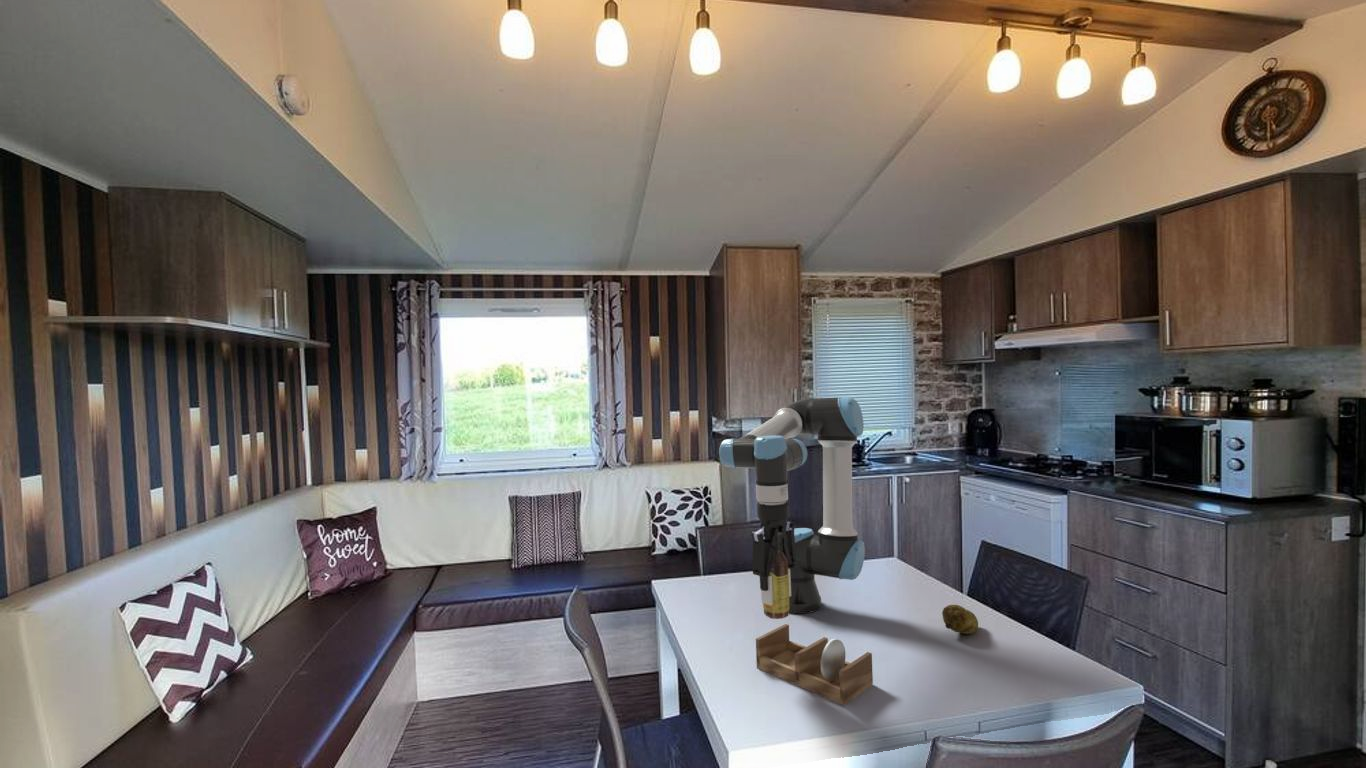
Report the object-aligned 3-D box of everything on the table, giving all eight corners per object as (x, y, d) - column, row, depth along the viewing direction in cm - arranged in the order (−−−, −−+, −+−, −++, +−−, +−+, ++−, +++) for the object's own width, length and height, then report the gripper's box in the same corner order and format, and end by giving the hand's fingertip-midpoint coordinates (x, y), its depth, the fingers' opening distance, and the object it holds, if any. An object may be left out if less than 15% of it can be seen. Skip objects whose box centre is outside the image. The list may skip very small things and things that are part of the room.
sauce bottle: (760, 610, 136) (757, 528, 136) (786, 608, 137) (782, 527, 137) (767, 622, 130) (763, 536, 130) (793, 619, 130) (789, 534, 130)
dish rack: (756, 667, 137) (755, 626, 137) (786, 651, 145) (785, 612, 145) (844, 705, 119) (842, 658, 120) (872, 684, 128) (871, 639, 128)
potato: (992, 634, 151) (991, 604, 152) (958, 643, 146) (956, 612, 146) (966, 622, 159) (964, 594, 159) (932, 631, 154) (931, 602, 154)
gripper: (758, 511, 124) (763, 616, 124) (809, 496, 137) (813, 591, 137) (733, 506, 129) (737, 607, 129) (784, 493, 142) (788, 584, 142)
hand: (776, 598), depth 133 cm, fingers closed on sauce bottle, 6 cm apart
